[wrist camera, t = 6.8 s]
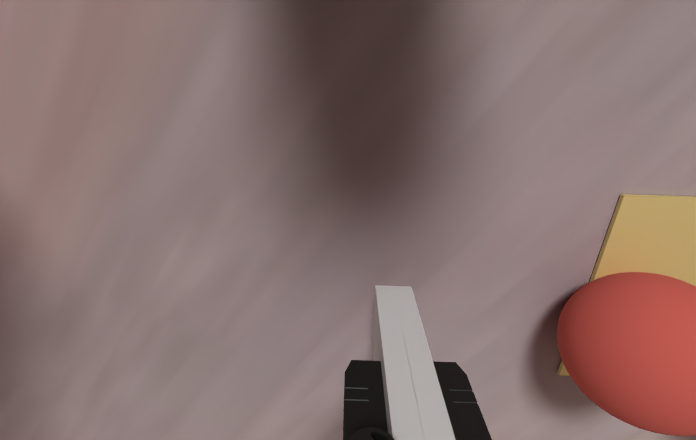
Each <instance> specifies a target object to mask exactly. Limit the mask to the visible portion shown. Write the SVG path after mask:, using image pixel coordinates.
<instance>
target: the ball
mask: <svg viewBox="0 0 696 440" xmlns="http://www.w3.org/2000/svg"><path fill="white" fill-rule="evenodd" d="M557 343H558V348H559V353H560V356H561V359H562V362H563V364H564V366H565V368H566V370H567V372H568V373H569V375H570V376H571V378H572V379H573V381H574V382H575V383H576V385H577V386H578V387H579V388H580V389H581V391H582V392H583V393H584V394H585V395H586V396H587V397H588V398H589V399H590V400H591V401H593V402H594V403H595V404H596V405H598V406H599V407H600V408H601V409H603V410H605V411H606V412H608V413H609V414H611V415H612V416H614V417H616V418H618V419H620V420H622V421H624V422H626V423H628V424H630V425H633V426H635V427H638V428H640V429H644V430H647V431H651V432H654V433H660V434H666V435H677V436H693V435H696V286H694V285H691V284H689V283H687V282H685V281H682V280H679V279H676V278H673V277H669V276H665V275H660V274H654V273H646V272H624V273H616V274H611V275H607V276H604V277H601V278H598V279H596V280H593V281H591V282H589V283H587V284H586V285H584V286H583V287H581V288H580V289H579V290H577V291H576V292H575V293H574V294H573V295H572V296H571V297H570V298H569V300H568V301H567V302H566V304H565V306H564V307H563V309H562V311H561V314H560V317H559V320H558V326H557Z"/></svg>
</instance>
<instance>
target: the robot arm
mask: <svg viewBox="0 0 696 440" xmlns="http://www.w3.org/2000/svg"><path fill="white" fill-rule="evenodd" d="M372 349H373V361H363V360H351V362H350V364H349V366H348V368H347V369H346V371H345V387H344V421H343V440H492V439H491V437H490V434H489V431H488V429H487V426H486V424H485V421H484V419H483V416H482V413H481V411H480V408H479V406H478V404H477V401H476V398H475V395H474V393H473V392H472V388H471V385H470V382H469V380H468V377H467V375H466V374H465V373H464V371H463V370H462V369H461V368H460V367H459V366H458V365H457V363H456V362H433V360H432V356H431V353H430V349H429V346H428V342H427V339H426V336H425V332H424V329H423V325H422V322H421V318H420V315H419V311H418V308H417V304H416V301H415V297H414V294H413V290H412V287H409V286H377V285H375V297H374V311H373V325H372Z"/></svg>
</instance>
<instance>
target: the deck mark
mask: <svg viewBox="0 0 696 440" xmlns="http://www.w3.org/2000/svg"><path fill="white" fill-rule="evenodd" d="M624 272H646V273H654V274H660V275H665V276H669V277H673V278H676V279H679V280H682V281H685V282H687V283H689V284H691V285H694V286H696V197H693V196H662V195H630V194H621V195H620V198H619V200H618V203H617V206H616V209H615V212H614V214H613V217H612V220H611V223H610V226H609V228H608V231H607V234H606V237H605V240H604V243H603V245H602V248H601V251H600V254H599V257H598V259H597V262H596V265H595V268H594V271H593V273H592V276H591V279H590V282H591V281H593V280H596V279H598V278H601V277H604V276H607V275H611V274H616V273H624ZM557 373H558V374H559V375H564V376H570V375H569V373H568V372H567V370H566V368H565V366H564V364H563V362H562V361H561V363H560V366H559V369H558V372H557Z"/></svg>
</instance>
